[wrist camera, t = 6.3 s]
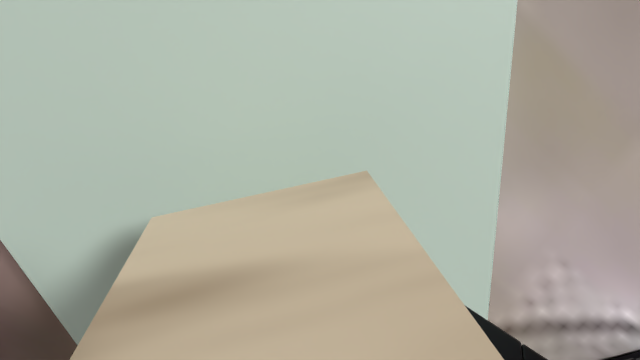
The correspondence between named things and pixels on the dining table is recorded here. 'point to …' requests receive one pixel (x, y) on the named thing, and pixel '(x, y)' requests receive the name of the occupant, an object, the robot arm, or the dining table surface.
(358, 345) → the maple cube
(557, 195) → the dining table surface
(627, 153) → the dining table surface
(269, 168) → the platform
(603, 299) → the dining table surface
